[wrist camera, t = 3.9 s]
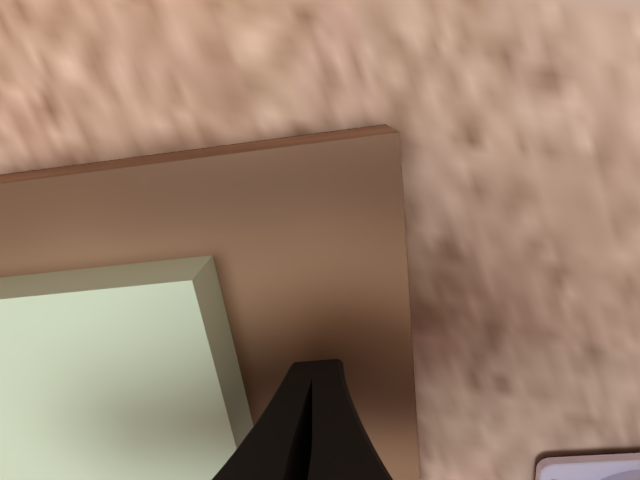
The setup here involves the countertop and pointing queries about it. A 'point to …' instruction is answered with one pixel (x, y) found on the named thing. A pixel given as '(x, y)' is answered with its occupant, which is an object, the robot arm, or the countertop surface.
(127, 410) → the coaster
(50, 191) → the walnut board
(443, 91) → the countertop surface
